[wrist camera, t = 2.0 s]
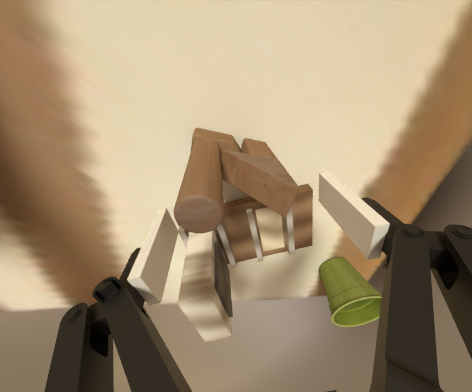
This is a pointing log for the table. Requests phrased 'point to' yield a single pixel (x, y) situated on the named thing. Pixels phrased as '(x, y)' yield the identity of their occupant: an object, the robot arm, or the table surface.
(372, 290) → the plant pot
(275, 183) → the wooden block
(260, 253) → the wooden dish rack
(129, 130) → the table surface
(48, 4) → the table surface
